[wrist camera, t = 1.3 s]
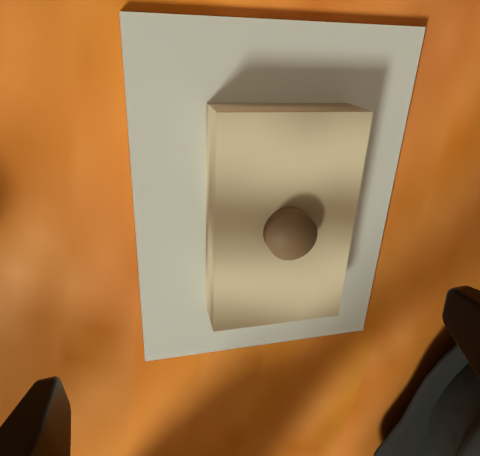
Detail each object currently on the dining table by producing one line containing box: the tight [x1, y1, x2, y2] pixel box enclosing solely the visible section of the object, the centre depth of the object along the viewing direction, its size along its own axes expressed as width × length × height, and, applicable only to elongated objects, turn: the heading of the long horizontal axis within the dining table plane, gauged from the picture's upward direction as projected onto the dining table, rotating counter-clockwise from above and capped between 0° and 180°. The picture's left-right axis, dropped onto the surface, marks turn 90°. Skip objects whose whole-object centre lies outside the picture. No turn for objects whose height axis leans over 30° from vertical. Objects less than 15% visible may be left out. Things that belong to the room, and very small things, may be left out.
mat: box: [119, 11, 426, 361], centre depth 22 cm, size 18×14×1 cm
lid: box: [205, 103, 373, 332], centre depth 21 cm, size 11×7×3 cm, turn 177°
